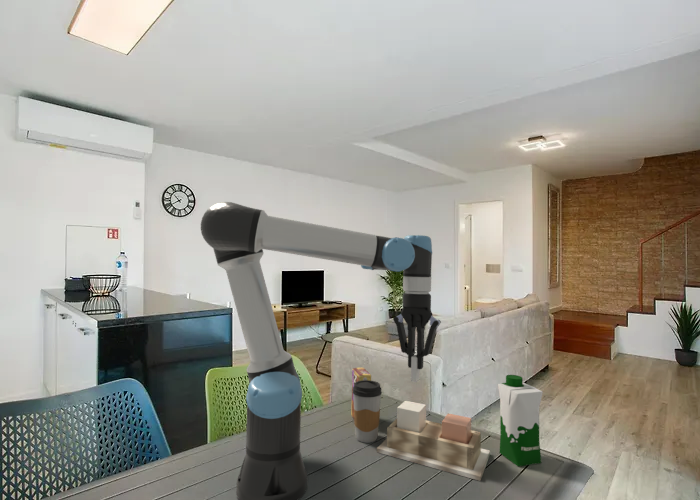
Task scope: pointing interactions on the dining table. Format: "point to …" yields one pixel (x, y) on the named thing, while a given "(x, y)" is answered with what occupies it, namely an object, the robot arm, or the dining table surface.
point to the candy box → (358, 375)
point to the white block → (411, 416)
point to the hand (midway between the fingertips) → (415, 380)
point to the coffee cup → (366, 410)
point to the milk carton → (519, 421)
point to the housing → (436, 450)
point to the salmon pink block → (456, 428)
